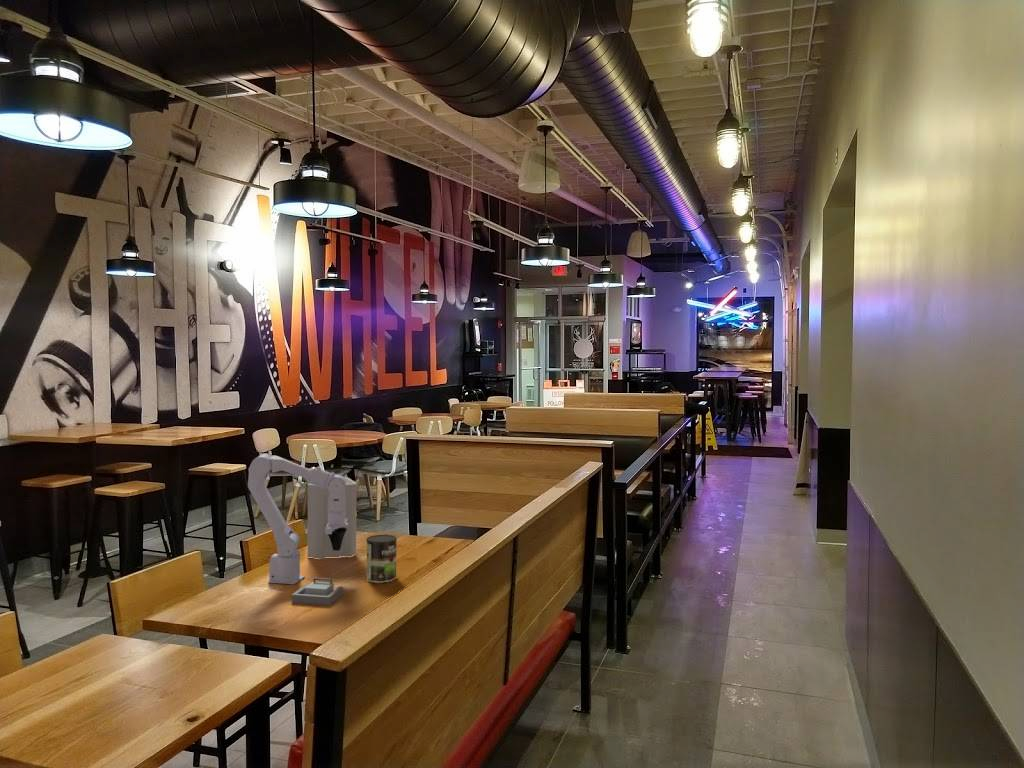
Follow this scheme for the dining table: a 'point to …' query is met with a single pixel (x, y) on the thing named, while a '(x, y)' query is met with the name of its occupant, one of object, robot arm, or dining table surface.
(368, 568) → the coffee can
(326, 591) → the box with handle
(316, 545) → the tall upright grey box
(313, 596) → the bay
